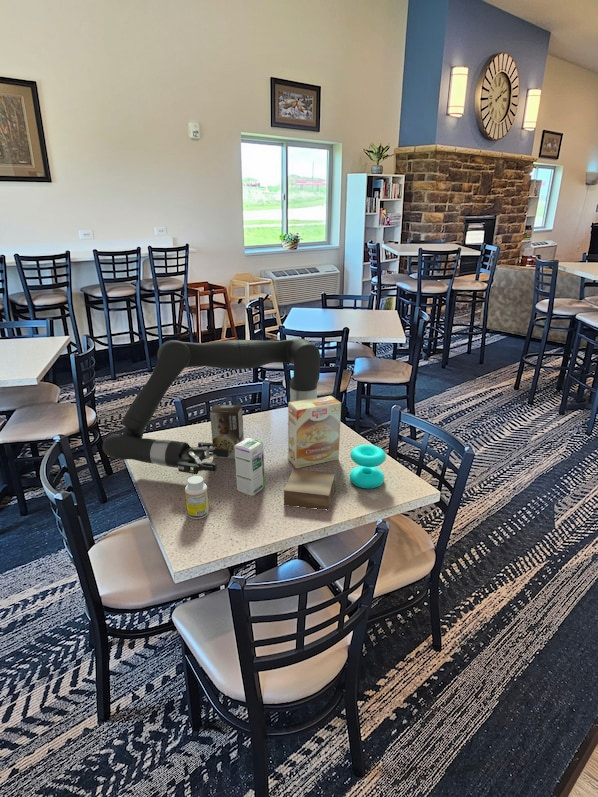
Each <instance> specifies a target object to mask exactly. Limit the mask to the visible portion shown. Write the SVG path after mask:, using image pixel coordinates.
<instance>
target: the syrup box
mask: <svg viewBox="0 0 598 797" xmlns="http://www.w3.org/2000/svg"><path fill="white" fill-rule="evenodd" d="M264 455H265V454H264V442H263V441H260V440H258V439H255V438H249V437H246V438H245V439H244V440H243V441H242V442H240V443H238V444H236V445H235V459H234V460H235V474H236V490H237V491H238V492H240V493H243V494H245V495H248V496H251V497H254V496H255V495H256V494H257V493H259V492H261V491H262V490H263V489H264V488H265V487H266V483H265V480H266V479H265V477H266V476H265V456H264Z"/></svg>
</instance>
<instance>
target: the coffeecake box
mask: <svg viewBox="0 0 598 797" xmlns="http://www.w3.org/2000/svg"><path fill="white" fill-rule="evenodd" d="M287 403H288V404H287V409H288V410H287V412H288V414H287V415H288V416H287V417H288V418H287V419H288V420H287V421H288V422H287V460H288V461H289V462H290V463H291V464H292V466H293V467H294V468H295V469H301V468H305V467H309V466H313V465H317V464H322V463H327V462H328V463H329V462H331V461H332V462H333V461H337V460H339V459H340V456H339V455H340V436H341V434H340V433H341V415H342V414H341V412H342V402H341V401H339V400H338V399H336V398H335V397H334V396H332V395H328V396H321V397H317V398H313V399H307V400H300V401H294V402H290V401H289V402H287Z"/></svg>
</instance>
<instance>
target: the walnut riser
mask: <svg viewBox="0 0 598 797" xmlns="http://www.w3.org/2000/svg"><path fill="white" fill-rule="evenodd" d="M335 487H336V472H329V471H323V470H322V471H320V470H313V469H312V470H310V469H303V468H302V469H301V468H296V467H294V468H293V469H292V471H291V474H290V476H289V477H288V481H287V482H286V485H285V487H284V489H283V506H285V505H289V506H288V507H293V506H299V507H298V508H301V507H306V508H305V509H309V508H317V509H327V510H328V509H330V507H331V503H330V502H332V499H333V496H332V495H334V491H335ZM329 506H330V507H329ZM317 509H316V510H317ZM328 511H329V510H328Z"/></svg>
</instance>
